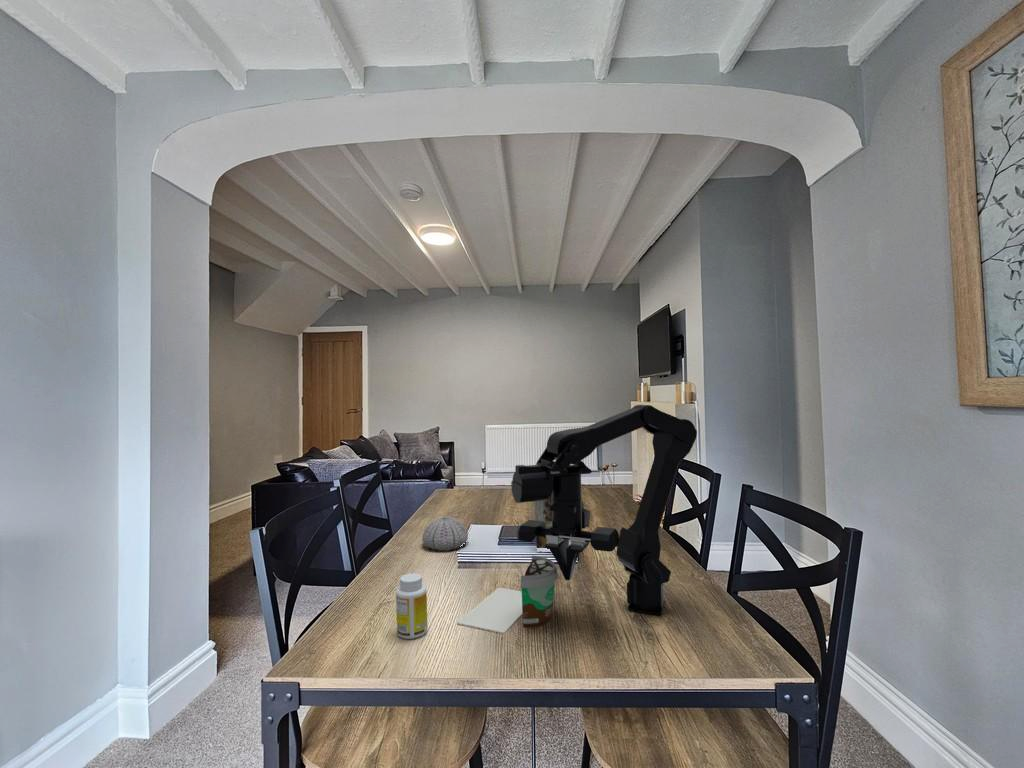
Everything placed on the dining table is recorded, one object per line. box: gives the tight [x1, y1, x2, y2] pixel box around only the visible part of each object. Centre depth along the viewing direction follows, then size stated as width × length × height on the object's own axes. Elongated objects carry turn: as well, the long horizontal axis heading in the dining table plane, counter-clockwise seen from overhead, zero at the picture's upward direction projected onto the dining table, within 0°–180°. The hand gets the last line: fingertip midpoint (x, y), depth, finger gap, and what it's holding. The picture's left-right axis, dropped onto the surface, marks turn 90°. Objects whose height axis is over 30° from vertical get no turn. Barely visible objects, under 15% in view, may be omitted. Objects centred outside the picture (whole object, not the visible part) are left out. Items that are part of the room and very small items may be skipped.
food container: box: [520, 555, 559, 629], centre depth 96 cm, size 12×6×10 cm, turn 168°
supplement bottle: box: [395, 573, 428, 640], centre depth 91 cm, size 6×6×10 cm
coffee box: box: [534, 495, 570, 548], centre depth 137 cm, size 9×6×16 cm
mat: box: [456, 587, 523, 635], centre depth 100 cm, size 10×18×1 cm, turn 155°
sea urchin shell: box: [421, 516, 469, 552], centre depth 142 cm, size 13×14×8 cm
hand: (568, 579), depth 94 cm, fingers closed
